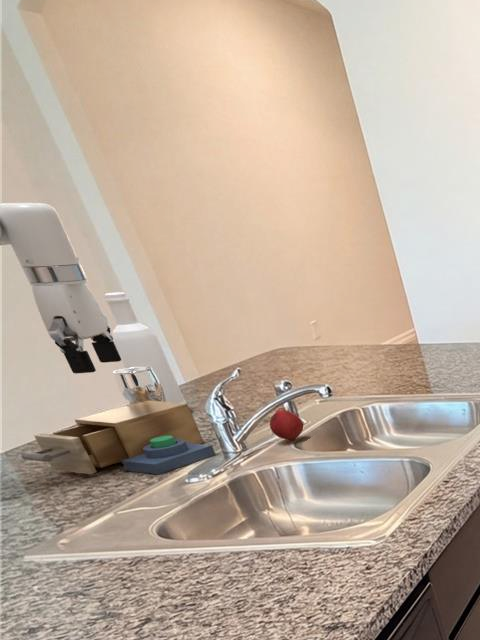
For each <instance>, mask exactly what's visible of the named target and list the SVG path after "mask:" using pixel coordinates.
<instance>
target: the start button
mask: <svg viewBox="0 0 480 640" xmlns="http://www.w3.org/2000/svg"><path fill="white" fill-rule="evenodd" d="M150 443H151V445H152V447H153V448H163V447H168V446H171V445H174V444H176V442H175V440H174V438H173V436H161V437H156V438H153V439H151V440H150Z"/></svg>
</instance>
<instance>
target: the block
mask: <svg viewBox="0 0 480 640" xmlns="http://www.w3.org/2000/svg"><path fill="white" fill-rule="evenodd" d="M174 440H175V442H176V444H174V445H171V446H168V447H163V448H153V447H152V445H151V444H149V445H147V446H145V447H143V450H144V452H145V453H144V454H141V455H138V456H135V457H132V458H129V459H126V460H122V462H123V463H122V464H123V466H124V468H125V470H126V471H127V472H134V473H144V474H151V475H152V474H153V475H161V474H165V473H167V472H171V471H173V470H176V469H180V468H183V467H185V466H187V465H191V464H193V463H196V462H199V461H201V460H205V459H208V458H210V457H213V456H216V452H215V449H214V447H213V445H212V444H204V443H201V444H194V443H186V442H185V440H183V439H174Z"/></svg>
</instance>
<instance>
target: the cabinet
mask: <svg viewBox="0 0 480 640" xmlns="http://www.w3.org/2000/svg"><path fill="white" fill-rule="evenodd" d="M74 421H75V425H76V426H80V425H83V424H91V425H102V426H112V427H115V429H116V432H117V434H118V436H119V438H120V440H121V442H122V444H123V446H124V448H125V450H126V452H127V454H128V456H129V458H132V457H135V456H138V455H141V454H144V453H145V452H144V450H143V447H145V446H147V445H149V444H151V443H150V440H151V439H153V438H156V437H161V436H173V438H174V439H183V440H185V442H186V443H194V444H204V443H205V441H204V439H203V437H202V434H201V432H200V430H199V428H198V425H197V422H196V420H195V419H194V416H193V413H192V411H191V409H190V407H189V404H188V403H187V404H185V403H173V402H160V401H144V402H141V403H137V404H133V405H129V404H128V405H125V406H122V407H121V406H120V407H117V408H113V409H110V410H106V411H102V412H98V413H94V414H90V415H85V416H83V417H79V418H74ZM117 464H123V462H122V461H121V462H118V463H117Z"/></svg>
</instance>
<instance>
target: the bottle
mask: <svg viewBox="0 0 480 640" xmlns="http://www.w3.org/2000/svg"><path fill="white" fill-rule="evenodd" d="M103 296H104V298H105V299H104V300H105V303H107V305H108V307H109V309H110V311H111V313H112V315H113V318H114V320H115V322H116V324H117V325H116V327H115V328H114V329H113V330H112V334H111V335H112V337H113V342H114V344H115V346H116V348H117V351H118V353H119V355H120V357H121V362H122V364H123V366H124V368H129V367H137V366H151V367H152V369H153V370H154V372H155V374H156V376H157V377H158V379H159V381H160V383H161V386H162V388H163V391H164V394H165V399H166V402H173V403H185V404H187V405H188V403H187V401H186V399H185V397H184V394H183V393H182V390H181V389H180V386H179V384H178V381H177V379H176V377H175V375H174V373H173V370H172V369H171V365H170V363H169V361H168V359H167V357H166V354H165V352H164V349H163V347H162V346H161V343H160V341H159V339H158V336H157V335H156V333H155V332H154V331H153V330H152V329H151V328H150V327H149V326H146V325H145V324H143V323H140V322H139V320H138V319H137V316H136V314H135V311H134V309H133V307H132V305H131V303H130V298H129V297H128V296H127V294H126V292H122V291H119V292H118V291H115V292H107V293H105V294H104V295H103Z"/></svg>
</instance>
